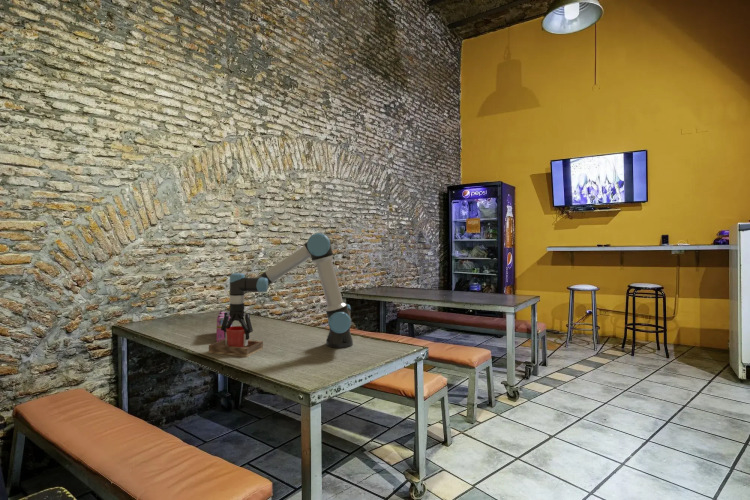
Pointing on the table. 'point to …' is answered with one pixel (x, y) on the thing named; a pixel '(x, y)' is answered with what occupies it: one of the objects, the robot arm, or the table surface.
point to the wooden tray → (235, 348)
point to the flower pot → (235, 336)
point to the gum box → (219, 324)
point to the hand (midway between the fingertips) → (236, 344)
